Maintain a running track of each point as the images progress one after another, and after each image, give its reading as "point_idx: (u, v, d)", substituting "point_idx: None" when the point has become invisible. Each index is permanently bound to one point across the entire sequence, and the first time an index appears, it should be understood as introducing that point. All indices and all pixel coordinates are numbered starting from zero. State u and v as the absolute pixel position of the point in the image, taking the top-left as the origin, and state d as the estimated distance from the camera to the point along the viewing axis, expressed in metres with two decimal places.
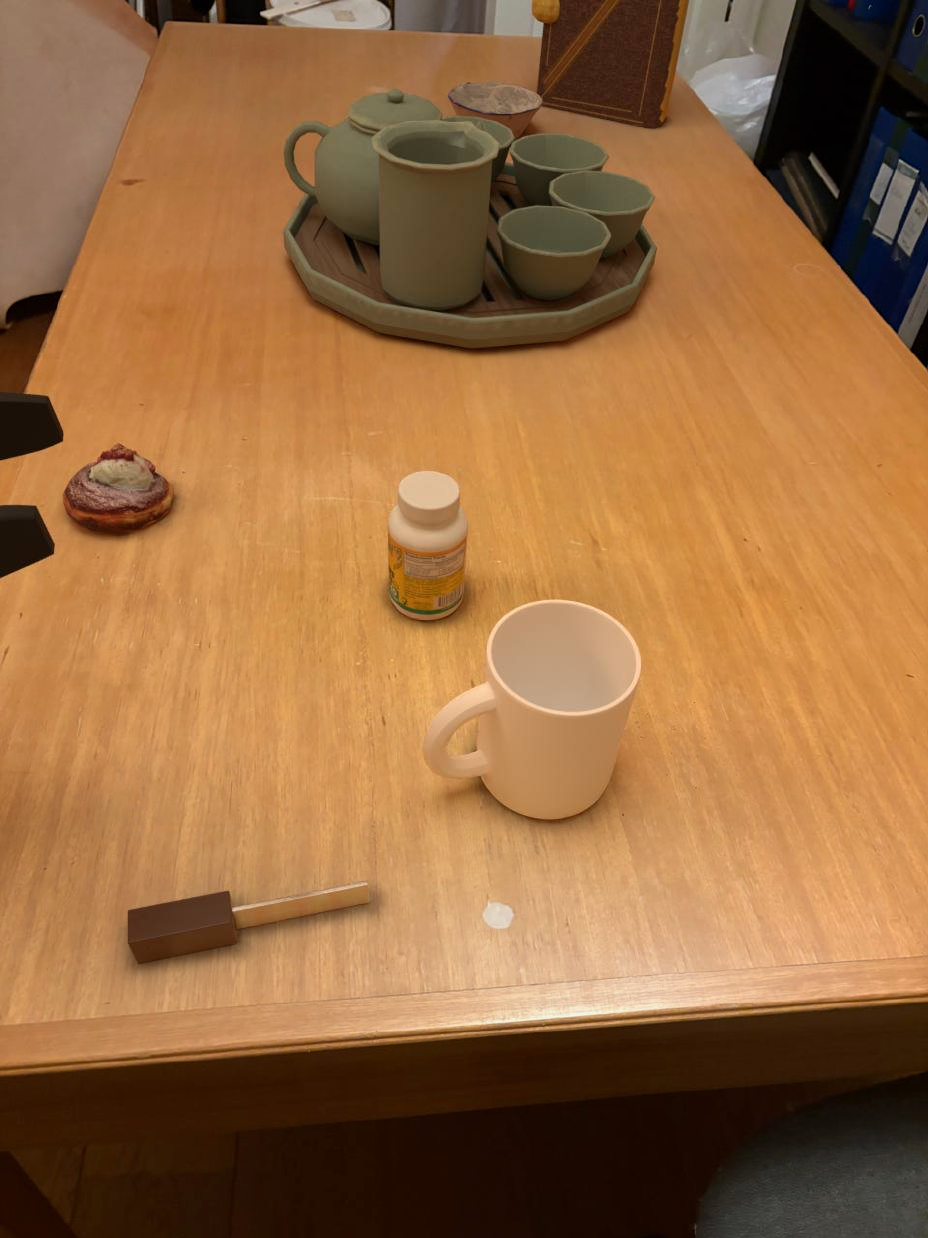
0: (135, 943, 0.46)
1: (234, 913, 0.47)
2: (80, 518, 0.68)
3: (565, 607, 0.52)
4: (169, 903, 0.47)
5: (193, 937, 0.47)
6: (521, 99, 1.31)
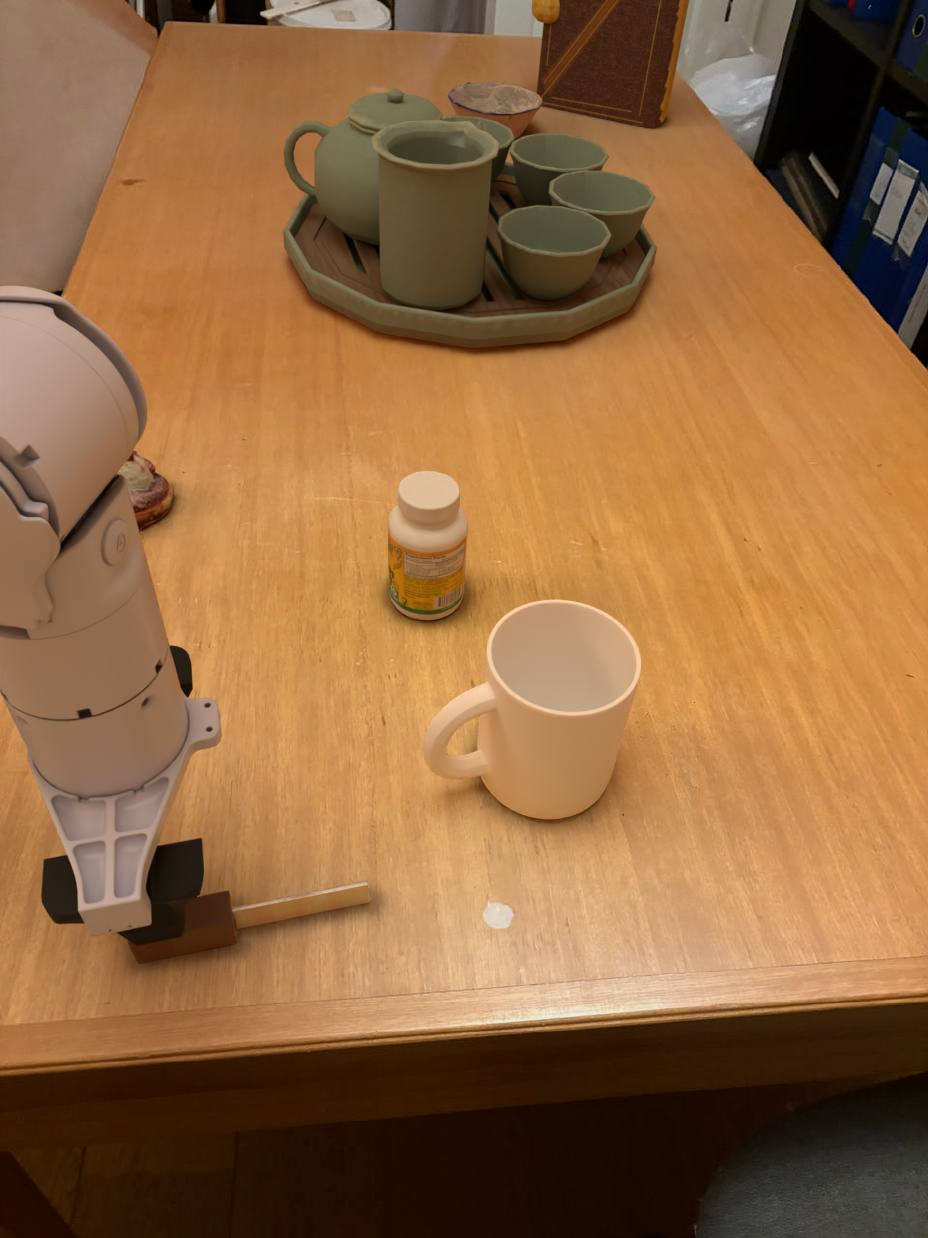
0: None
1: (234, 913, 0.47)
2: None
3: (565, 607, 0.52)
4: None
5: (193, 937, 0.47)
6: (521, 99, 1.31)
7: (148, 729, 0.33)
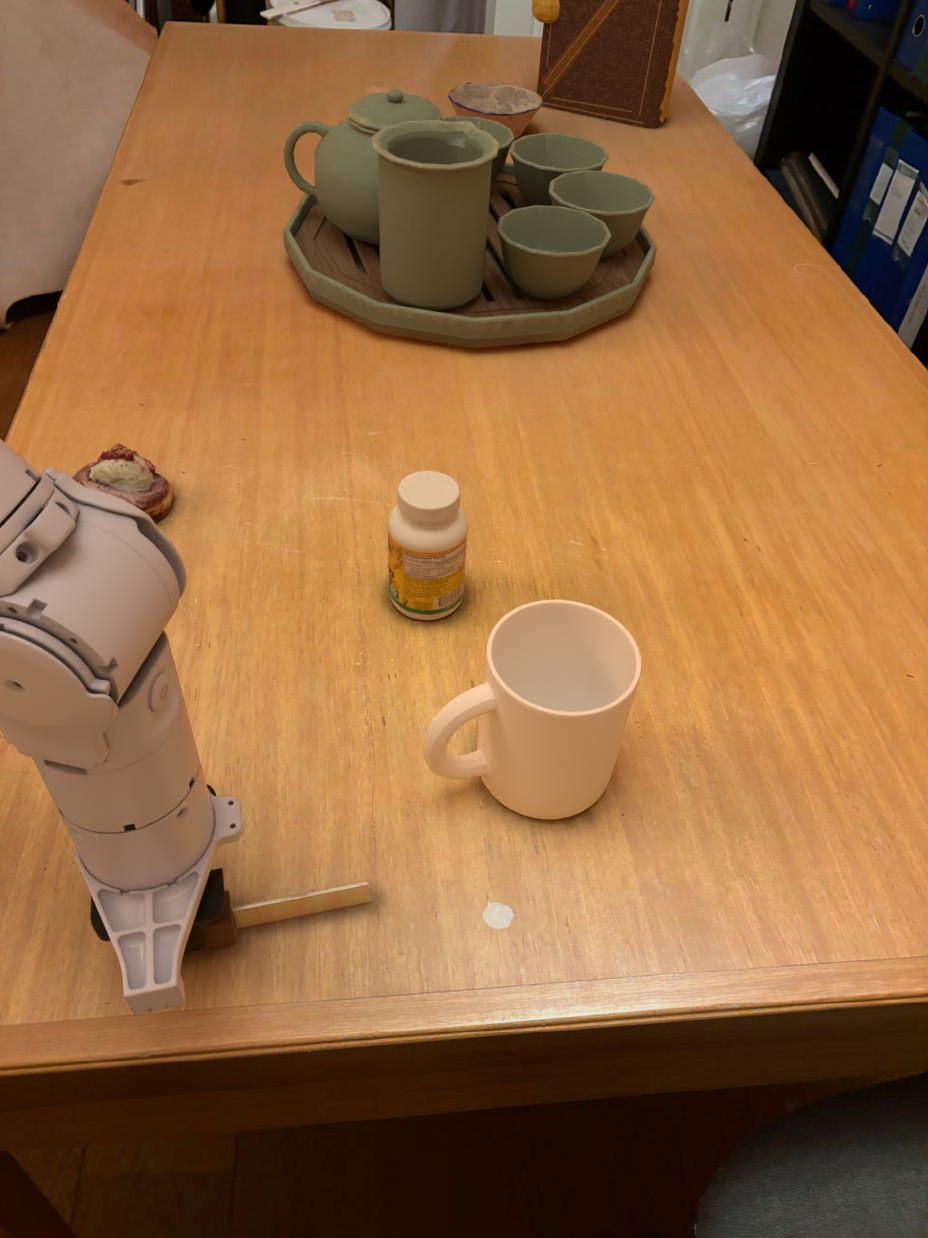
0: None
1: (234, 913, 0.47)
2: None
3: (565, 607, 0.52)
4: None
5: None
6: (521, 99, 1.31)
7: (182, 834, 0.38)
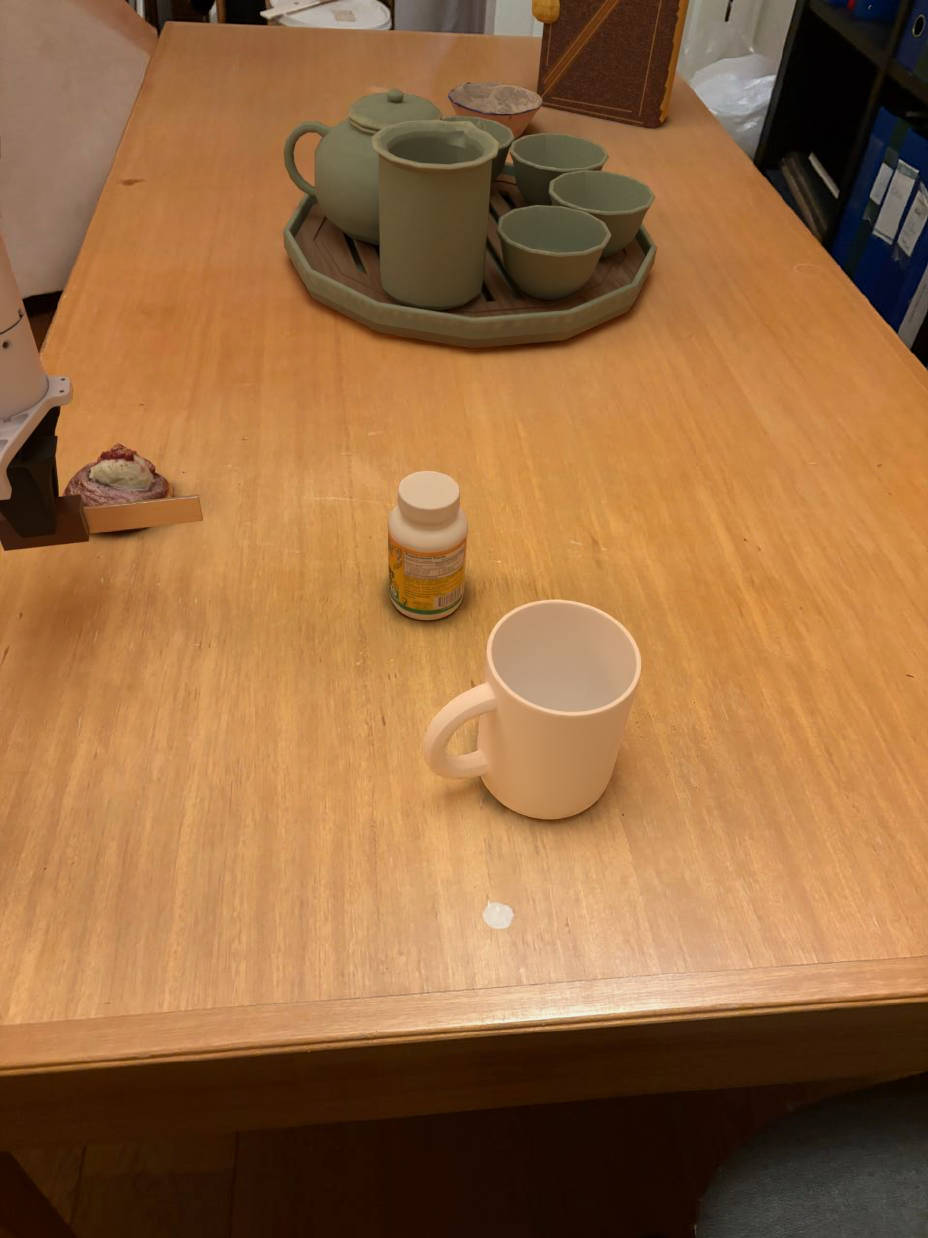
0: None
1: (84, 512, 0.57)
2: None
3: (565, 607, 0.52)
4: None
5: None
6: (521, 99, 1.31)
7: (9, 367, 0.48)
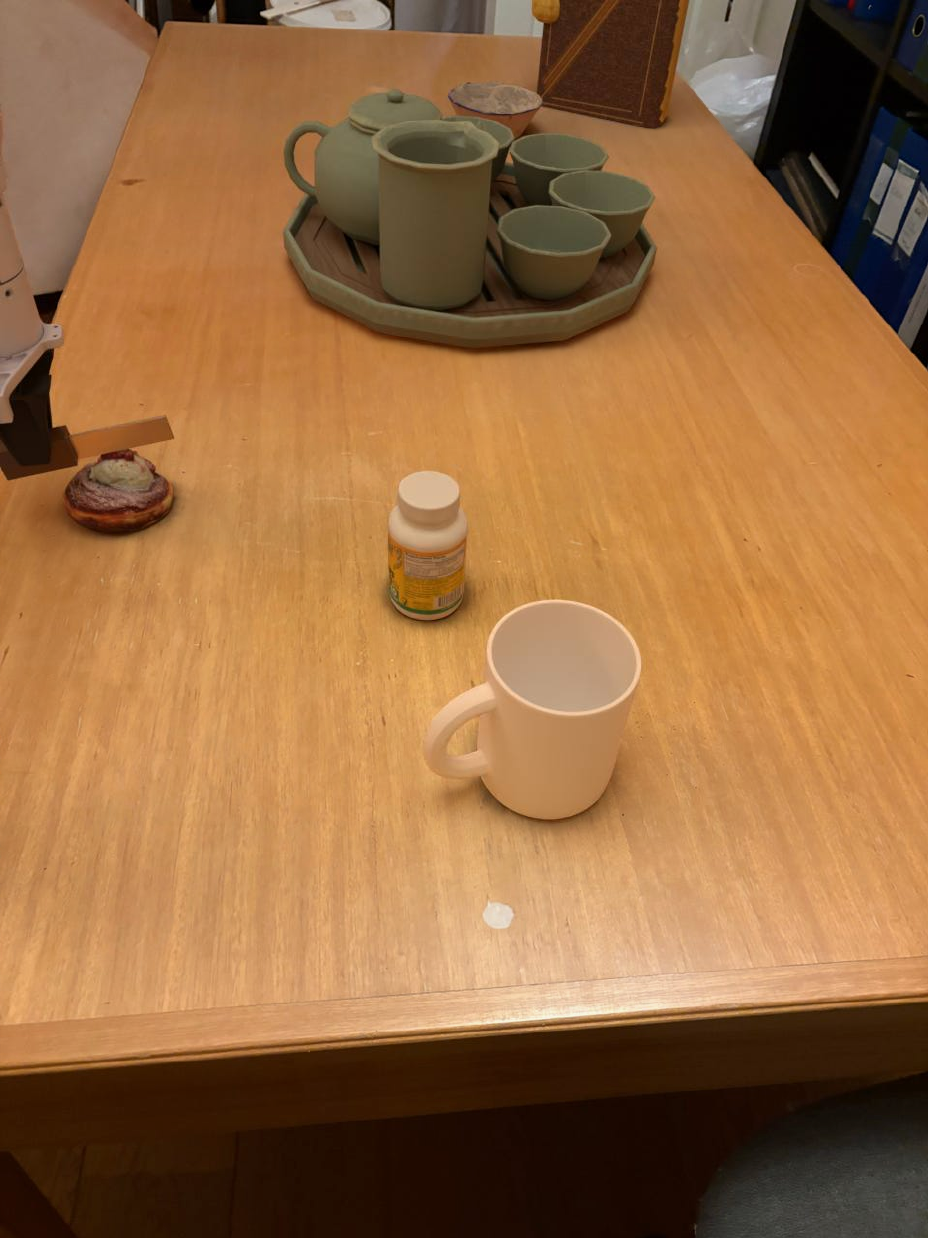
0: None
1: (70, 439, 0.66)
2: (81, 518, 0.68)
3: (565, 607, 0.52)
4: None
5: None
6: (521, 99, 1.31)
7: (11, 312, 0.57)
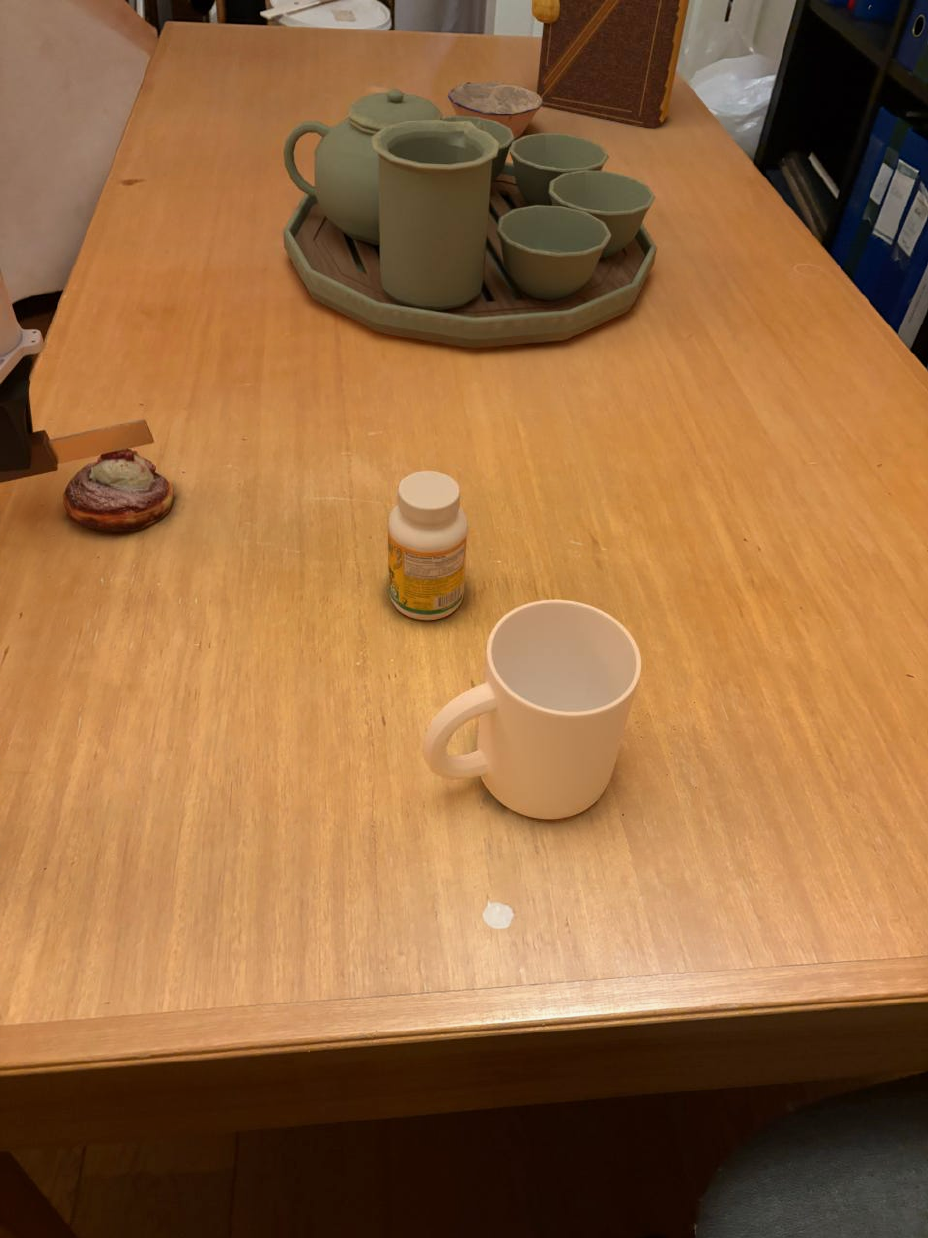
0: None
1: (49, 444, 0.66)
2: (81, 518, 0.68)
3: (565, 607, 0.52)
4: None
5: None
6: (521, 99, 1.31)
7: None
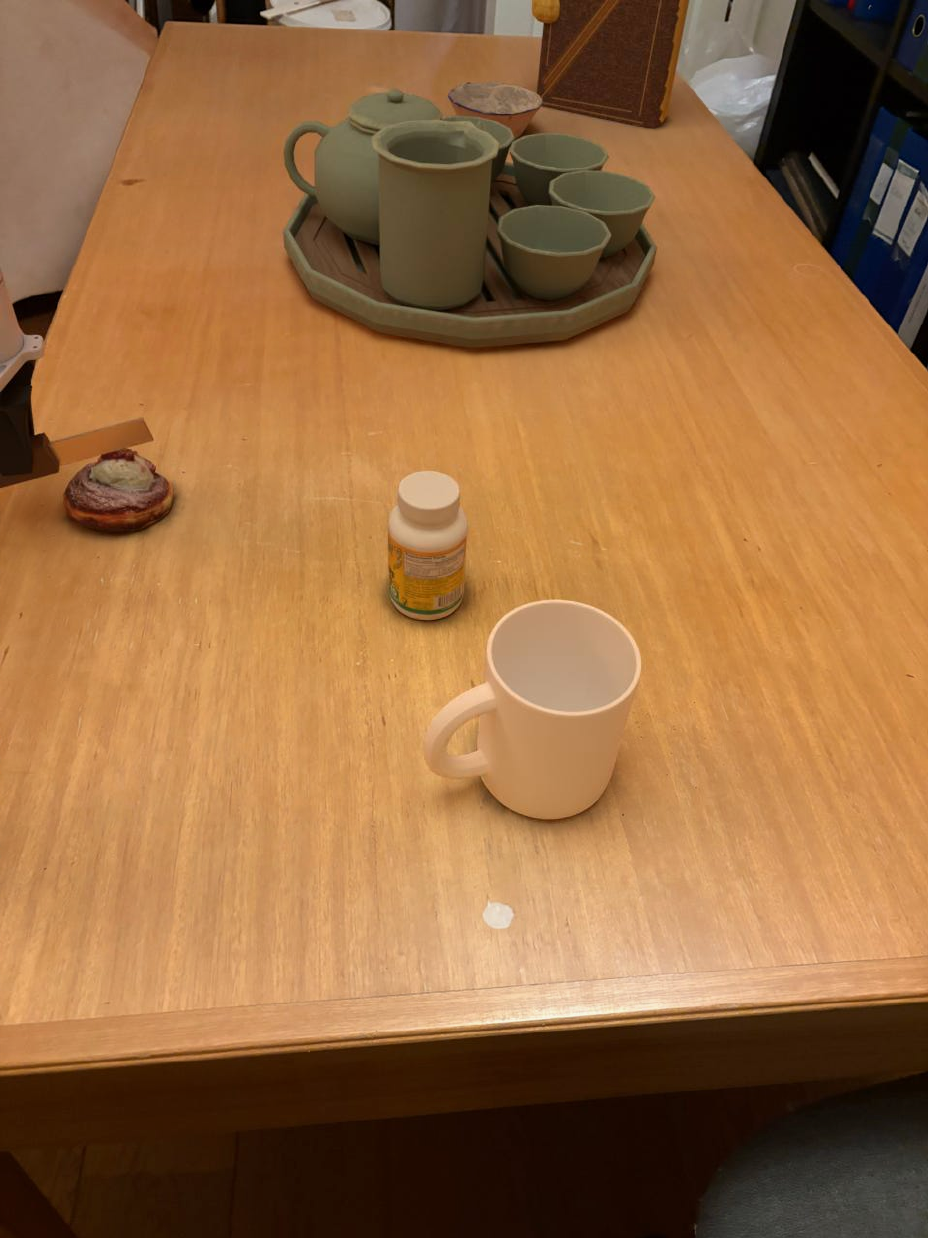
0: None
1: (49, 446, 0.66)
2: (81, 518, 0.68)
3: (565, 607, 0.52)
4: None
5: None
6: (521, 99, 1.31)
7: None
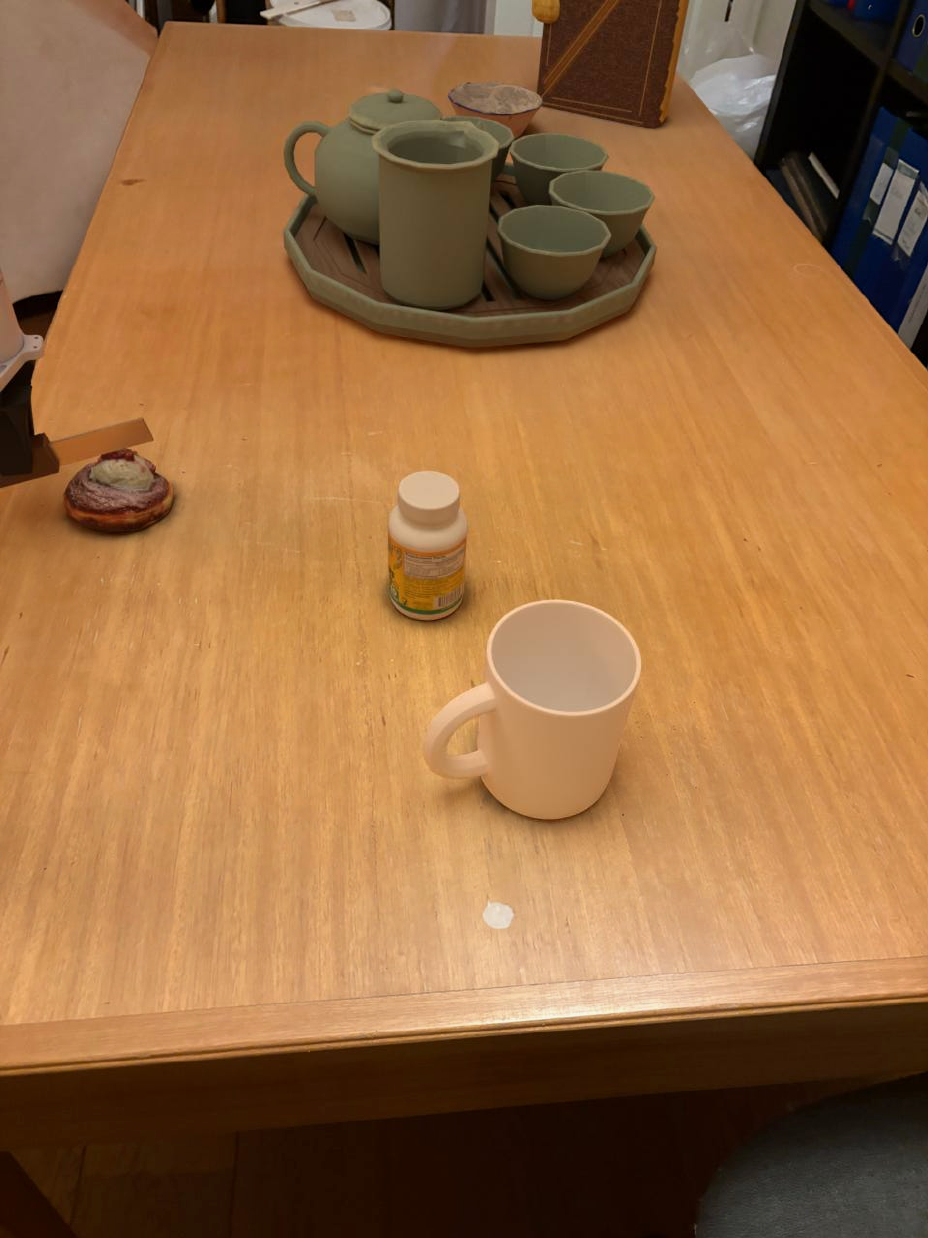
0: None
1: (49, 446, 0.66)
2: (81, 518, 0.68)
3: (565, 607, 0.52)
4: None
5: None
6: (521, 99, 1.31)
7: None
